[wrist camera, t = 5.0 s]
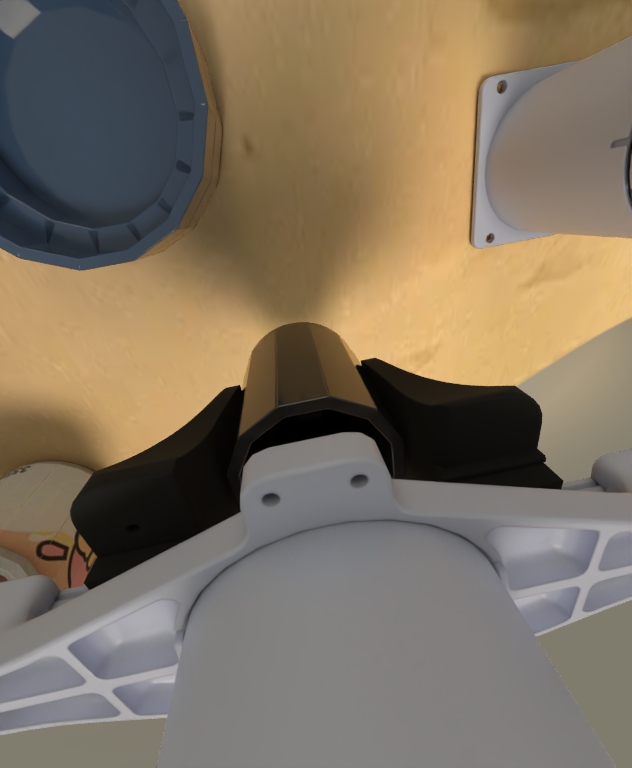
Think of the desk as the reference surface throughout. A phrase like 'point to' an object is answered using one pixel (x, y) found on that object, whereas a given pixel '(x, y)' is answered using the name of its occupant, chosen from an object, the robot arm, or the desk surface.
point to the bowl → (102, 130)
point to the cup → (307, 398)
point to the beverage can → (43, 524)
